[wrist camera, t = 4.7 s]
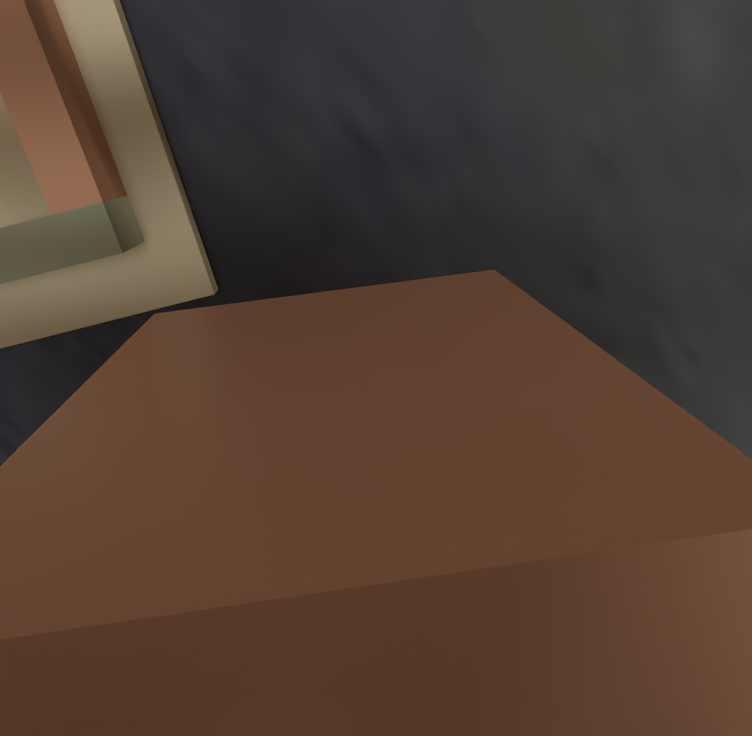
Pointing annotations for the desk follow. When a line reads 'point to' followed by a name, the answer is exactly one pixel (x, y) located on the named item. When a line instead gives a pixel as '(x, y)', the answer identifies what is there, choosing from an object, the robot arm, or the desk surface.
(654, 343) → the desk surface
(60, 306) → the slot holder
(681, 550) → the banded block
